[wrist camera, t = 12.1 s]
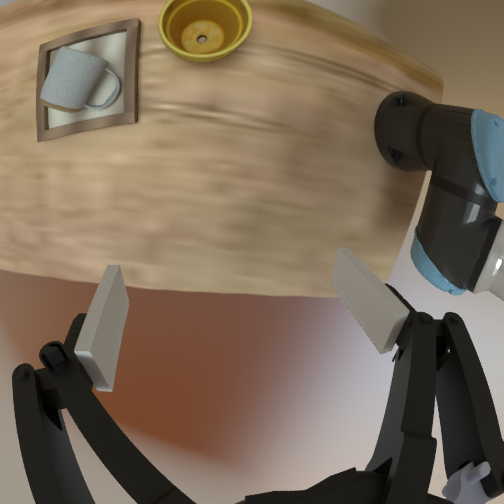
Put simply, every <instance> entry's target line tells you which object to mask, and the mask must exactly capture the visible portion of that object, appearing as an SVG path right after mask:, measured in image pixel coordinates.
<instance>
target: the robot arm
mask: <svg viewBox="0 0 504 504" xmlns="http://www.w3.org/2000/svg"><path fill="white" fill-rule="evenodd" d="M375 136H376V141H377V145H378V148H379V150H380V152H381V154H382V156H383V157H384V158H385V160H386V161H387V162H388V163H389V164H391V165H392V166H394V167H396V168H399V169H401V170H404V171H409V172H415V171H428V170H431V171H432V175H431V179H430V182H429V187H428V191H427V195H426V198H425V202H424V206H423V209H422V213H421V216H420V219H419V222H418V225H417V226H416V229H415V236H414V239H413V243H412V246H411V258H412V261H413V263H414V265H415V267H416V268H417V270H418V271H419V272H420V273H421V275H423V277H425V279H426V280H428V281H429V282H430V283H431V284H433V285H434V286H435V287H437V288H439V289H440V290H442V291H444V292H446V291H448V292H449V293H450V294H452V295H461V294H462V293H463V292H465V291H466V290H467V289H468V290H469V291H471V292H472V293H474V294H476V293H479V292H481V291H486V290H487V291H490V292H491V293H493V294H494V295H496V296H497V297H498V298H500V299H501V300H503V301H504V220H502V219H501V218H499V217H497V216H495V211H496V208H497V205H498V202H499V203H501V202H504V119H503V118H501V117H500V116H497V115H494V114H491V113H488V112H485V111H483V110H481V109H470V108H464V107H458V106H451V105H444V104H436V103H434V102H432V101H430V100H428V99H426V98H424V97H422V96H421V95H419V94H416V93H413V92H402V91H400V92H395V93H392V94H390V95H389V96H387V97H386V98H385V99H384V100H383V102H382V103H381V105H380V107H379V109H378V111H377V115H376V120H375ZM330 285H331V286H332V287H333V289H334V290H335V291H336V293H337V294H338V295H339V297H340V298H341V299H342V301H343V302H344V304H345V305H346V306H347V308H348V309H349V310H350V312H351V313H352V315H353V316H354V317H355V319H356V320H357V321H358V323H359V324H360V326H361V327H362V329H363V330H364V331H365V333H366V334H367V336H368V337H369V338H370V340H371V341H372V342H373V344H374V346H375V347H376V349H377V350H378V351H379V353H380V354H383V353H386V352H389V351H392V349H393V347H394V345H395V343H396V344H397V345H398V346H399V348H398V350H397V352H396V354H395V356H394V357H393V360H392V362H394V360H395V366H394V372H393V377H392V383H391V388H390V393H389V398H388V402H387V406H386V411H385V415H384V419H383V423H382V426H381V430H380V434H379V437H378V441H377V444H376V448H375V451H374V454H373V456H372V459H371V460H370V462H369V463H368V465H367V467H366V469H365V471H356V468H355V467H354V468H351V469H348V470H346V471H343V472H340V473H337V474H334V475H331V476H329V477H328V478H326V479H324V480H323V481H321V482H320V483H317V484H316V485H314V486H312V487H310V488H309V489H307V490H300V491H272V492H267V493H261V494H255V495H249V496H245V500H243V501H240V502H238V503H236V504H485V503H486V502H488V501H490V500H492V499H494V498H495V497H497V496H499V495H501V494H503V493H504V441H503V439H502V437H501V432H500V427H499V423H498V419H497V415H496V411H495V407H494V403H493V400H492V396H491V393H490V389H489V386H488V383H487V380H486V377H485V374H484V371H483V368H482V366H481V363H480V360H479V358H478V355H477V352H476V350H475V347H474V345H473V342H472V340H471V338H470V335H469V333H468V331H467V328H466V326H465V324H464V322H463V320H462V318H461V317H460V316H459V315H458V314H456V313H453V312H447V313H445V315H444V317H443V319H442V320H434V319H433V317H432V316H430V315H429V314H427V313H425V312H417V311H415V309H414V308H413V307H412V306H411V305H410V304H409V303H408V302H407V301H406V300H405V299H403V297H402V296H401V295H400V294H399V293H398V291H397V290H396V289H395V288H393V287H392V286H390V285H388V284H387V283H386V284H384V283H383V282H382V281H381V280H380V279H379V278H378V277H377V276H376V275H375V274H374V273H373V272H372V271H371V270H370V269H369V268H368V267H367V266H366V265H365V264H364V263H363V262H362V261H361V260H360V259H359V258H358V257H357V256H356V255H355V254H354V253H353V252H352V251H351V250H350V249H349V248H337V254H336V259H335V264H334V270H333V275H332V280H331V284H330ZM128 307H129V299H128V295H127V292H126V288H125V284H124V280H123V276H122V272H121V268H120V265H108V266H107V268H106V271H105V273H104V275H103V277H102V279H101V282H100V284H99V286H98V289H97V291H96V293H95V296H94V298H93V301H92V303H91V305H90V308H89V310H88V313H85V314H84V313H83V314H78V316H77V317H76V318H75V319H74V320H73V322H72V325H71V327H70V329H69V332H68V335H67V337H66V340H65V342H64V345H63V344H62V343H61V342H59V341H52V342H49V343H47V344H46V345H44V346H43V347H42V349H41V350H40V353H39V358H40V360H41V362H42V363H43V365H44V367H45V368H42V369H38V370H34V368H33V367H32V366H31V365H30V364H27V363H24V364H21V365H19V366H18V367H17V368H16V369H15V370H14V372H13V375H12V386H13V401H14V410H15V419H16V427H17V433H18V439H19V444H20V449H21V454H22V459H23V463H24V467H25V471H26V474H27V478H28V481H29V485H30V488H31V491H32V494H33V497H34V500H35V503H36V504H95V502H94V500H93V498H92V496H91V494H90V491H89V490H88V487H87V485H86V482H85V480H84V478H83V475H82V473H81V470H80V468H79V465H78V463H77V460H76V457H75V454H74V452H73V449H72V446H71V443H70V440H69V436H68V434H67V430H66V426H65V423H64V420H63V416H62V412H61V409H65V408H67V410H68V411H69V413H70V415H71V416H72V418H73V420H74V422H75V423H76V425H77V426H78V428H79V430H80V431H81V433H82V434H83V436H84V437H85V439H86V440H87V442H88V443H89V445H90V446H91V448H92V449H93V450H94V452H95V453H96V455H97V456H98V457H99V459H100V460H101V461H102V463H103V464H104V465H105V467H106V468H107V469H108V470H109V472H110V473H111V474H112V475H113V476H114V478H115V479H116V480H117V481H118V483H119V484H120V485H121V486H122V487H123V488H124V489H125V491H126V492H127V493H128V494H129V495H130V496H131V497H132V498H133V499H134V500H135V501H136V502H137V504H196V503H195V502H193V501H192V500H191V499H190V498H189V497H187V496H186V495H185V494H184V493H183V492H181V491H180V490H179V489H178V488H177V487H176V486H174V485H173V484H172V483H171V482H170V481H169V480H168V479H167V478H166V477H165V476H164V475H163V474H161V473H160V472H159V471H158V470H157V469H156V468H155V467H154V466H153V465H152V464H151V463H150V462H149V461H148V459H147V458H145V456H144V455H143V454H142V453H141V452H140V451H139V450H138V449H137V448H136V447H135V445H134V444H133V443H132V442H131V441H130V440H129V439H128V437H127V436H126V435H125V434H124V433H123V432H122V430H121V429H120V428H119V427H118V425H117V424H116V423H115V422H114V420H113V419H112V418H111V417H110V415H109V414H108V413H107V411H106V410H105V409H104V407H103V406H102V405H101V403H100V402H99V400H98V399H97V398H96V396H95V395H94V393H93V392H92V387H93V384H94V386H95V387H96V389H97V390H98V391H112V390H113V383H114V377H115V371H116V365H117V359H118V353H119V349H120V343H121V339H122V334H123V329H124V324H125V320H126V315H127V311H128ZM449 349H450V353H449V352H448V350H449ZM435 394H436V399H437V405H438V411H439V418H440V425H441V433H442V442H443V453H444V464H445V470H446V475H447V479H448V482H447V485H446V486H445V487H444V488H443V490H442V494H443V496H445V497H446V499H443V498H440V497H437V496H434V495H432V494H428V493H427V492H428V488H429V484H430V480H431V475H432V470H433V465H434V460H435V454H436V447H437V440H436V438H433V437H432V436H431V434H432V433H431V432H432V425H433V415H434V406H435Z"/></svg>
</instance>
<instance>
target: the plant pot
mask: <svg viewBox="0 0 504 504" xmlns="http://www.w3.org/2000/svg"><path fill="white" fill-rule="evenodd" d="M252 24H253V15H252V10H251V8H250V6H249V4H248V2H247V1H246V0H169V1H168V2H167V3H166V5H165V6H164V7H163V9H162V11H161V13H160V16H159V20H158V30H159V34H160V36H161V39H162V41H163V43H164V44H165V46H166V47H167V48H168V49H169V50H170V51H171V52H172V53H173V54H174V55H176V56H178V57H180V58H182V59H184V60H188V61H192V62H210V61H215V60H219V59H221V58H224V57H226V56H228V55H229V54H231V53H232V52H234V51H235V50H236V49H237V48H238V47H239V46H240V45H241V44H242V43H243V42H244V41H245V39H246V38H247V37H248V35H249V33H250V31H251V28H252ZM200 36H205V37H206V39H207V40H206V41H205V42H204V43H199V42H198V41H197V39H198V37H200Z"/></svg>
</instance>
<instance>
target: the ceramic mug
mask: <svg viewBox="0 0 504 504" xmlns="http://www.w3.org/2000/svg"><path fill="white" fill-rule="evenodd" d="M108 63H109V62H108V61H107V60H104V59H102V58H99V57H97V56H94V55H91V54H88V53H85V52H82V51H79V50H75V49H72V48H69V47H66V46H62V47H61V48H60V49H59V51H58V53H57V56H56V58H55V60H54V62H53V64H52V66H51V68H50V71H49V73H48V76H47V78H46V80H45V82H44V85H43V88H42V91H41V95H40V101H41V103H42V104H43V105H45V106H47V107H49V108H52V109H55V110H58V111H63V112H68V113H76V112H79V111H80V110H81V109H82V108H84V107H86V108H88V109H94V110H95V109H102V108H105V107H107V106H108V105H110V104H111V103H112V102H113V101H114V99H115V98H116V96H117V95H118V93H119V90H120V83H119V79H118V77H117V76H116V74H115V73H114V72H113V71H111V70H110V69H108V68H107V66H108ZM104 71H107V72H109V73H110V74H111V75H112V76H113V77H114V79H115V81H116V88H115V90H114V91H113V93H112V94H111V96H110V97H109V98H108V99H106V102H105V103H104V104H102V105H99V106H96V105H95V106H94V105H89V104H87V103H86V102H87V100H88V98H89V97H90V95H91V93H92V91H93V89H94V87H95V85H96V84H97V82H98V81H99V79H100V77H101V75H102V74H103V72H104Z"/></svg>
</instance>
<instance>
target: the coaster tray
mask: <svg viewBox="0 0 504 504" xmlns="http://www.w3.org/2000/svg"><path fill="white" fill-rule="evenodd" d="M140 29H141V22H140V20H139V18H135V19H129V20H124V21H119V22H114V23H109V24H105V25H101V26H97V27H93V28H89V29H85V30H82V31H79V32H75V33H72V34H69V35H66V36H63V37H60V38H57V39H54V40H52V41H49V42H46V43H44V44H41V45H40V49H39V58H38V69H37V88H36V120H37V139H38V142H41V141H45V140H49V139H53V138H57V137H61V136H65V135H69V134H73V133H78V132H83V131H87V130H92V129H98V128H103V127H109V126H115V125H122V124H129V123H136V122H138V114H137V85H138V57H139V41H140ZM62 46H66V47H69V48H72V49H75V50H79V51H82V52H85V53H88V54H91V55H94V56H97V57H99V58H102V59H104V60H107V61H108V62H109V63H108V66H107V68H108V69H110V70H111V71H113V72H114V73H115V74H116V76H117V77H118V79H119V83H120V90H119V93H118V95H117V96H116V98H115V99H114V101H113V102H112V103H111V104H110V105H108V106H107V107H105V108H102V109H95V110H94V109H88V108H86V107H84V108H82V109H81V110H80V111H79V112H76V113H68V112H63V111H58V110H55V109H52V108H49V107H47V106H45V105H43V104H42V103H41V101H40V95H41V91H42V88H43V85H44V82H45V80H46V78H47V76H48V73H49V71H50V68H51V66H52V64H53V62H54V60H55V58H56V56H57V53H58V51H59V49H60V48H61V47H62ZM115 88H116V81H115V79H114V77H113V76H112V75H111V74H110V73H109V72H107V71H104V72H103V74H102V75H101V77H100V79H99V81H98V82H97V84H96V85H95V87H94V89H93V91H92V93H91V95H90V97H89V98H88V100H87V102H86V103H87V104H89V105H94V106H95V105H96V106H99V105H102V104H104V103H105V102H106V99H108V98H109V97H110V96H111V94H112V93H113V91H114V90H115Z"/></svg>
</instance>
